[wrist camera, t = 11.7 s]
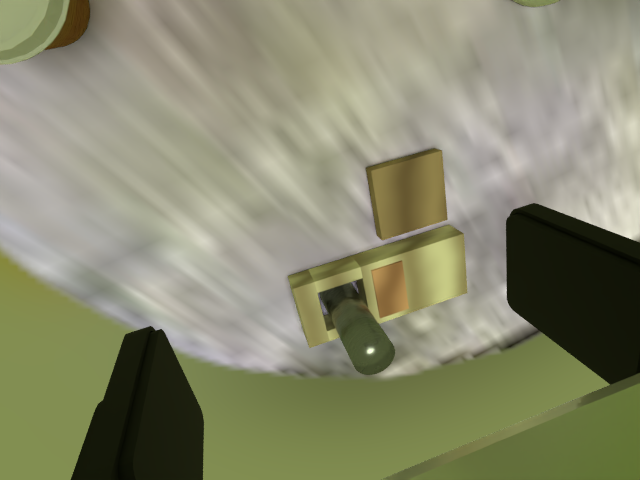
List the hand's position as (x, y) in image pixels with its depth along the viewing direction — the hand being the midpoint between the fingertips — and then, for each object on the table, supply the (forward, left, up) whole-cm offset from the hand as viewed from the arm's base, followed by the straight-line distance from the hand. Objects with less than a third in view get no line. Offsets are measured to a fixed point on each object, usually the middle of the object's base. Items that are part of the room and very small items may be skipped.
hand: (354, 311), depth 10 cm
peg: (-5, +19, -30) cm, 36 cm away
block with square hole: (-10, +19, -30) cm, 37 cm away
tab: (-15, +10, -30) cm, 35 cm away
